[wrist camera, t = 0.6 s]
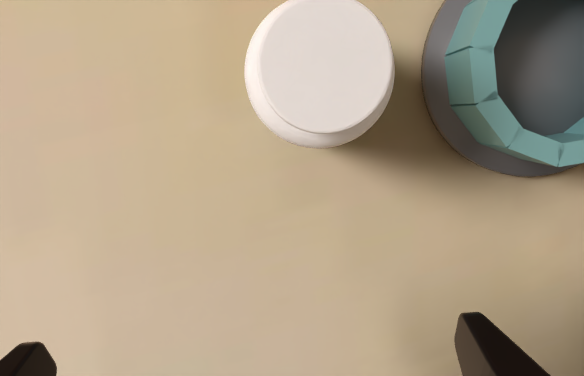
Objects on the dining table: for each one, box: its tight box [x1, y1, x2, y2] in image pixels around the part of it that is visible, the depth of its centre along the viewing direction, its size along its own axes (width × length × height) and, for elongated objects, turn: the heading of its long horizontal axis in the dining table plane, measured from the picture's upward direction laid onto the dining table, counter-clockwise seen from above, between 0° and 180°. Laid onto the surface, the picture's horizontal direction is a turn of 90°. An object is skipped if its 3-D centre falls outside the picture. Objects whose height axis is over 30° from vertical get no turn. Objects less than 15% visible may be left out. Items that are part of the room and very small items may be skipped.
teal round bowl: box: [421, 0, 584, 176], centre depth 20 cm, size 11×11×4 cm
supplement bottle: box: [245, 0, 395, 148], centre depth 17 cm, size 5×5×10 cm
